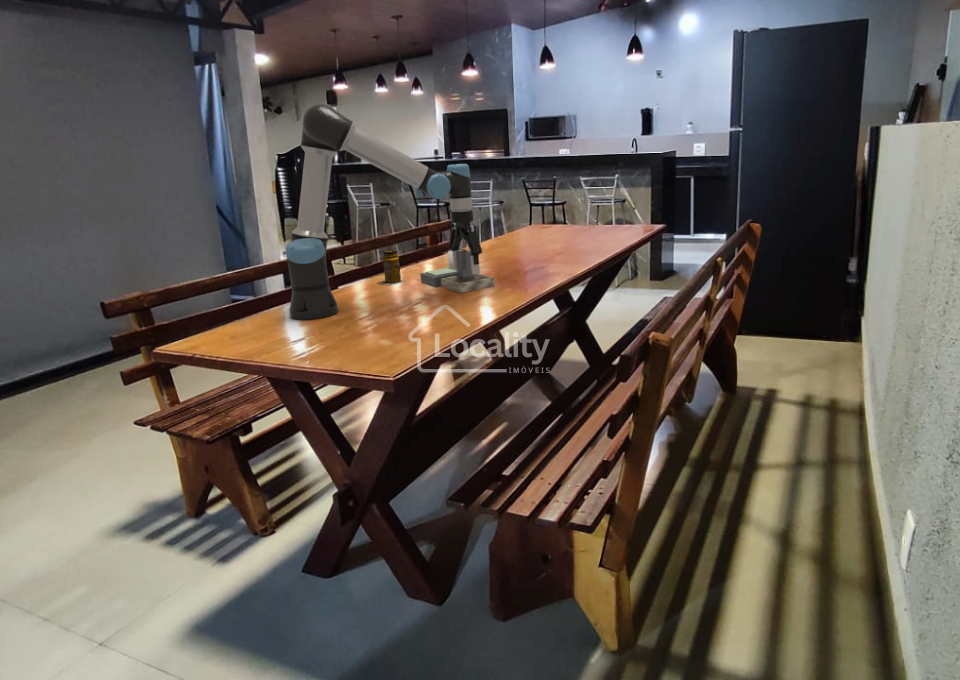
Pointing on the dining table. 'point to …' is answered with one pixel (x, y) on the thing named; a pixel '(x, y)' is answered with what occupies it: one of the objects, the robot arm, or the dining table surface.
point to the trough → (467, 283)
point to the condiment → (391, 268)
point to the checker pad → (441, 272)
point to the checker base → (434, 278)
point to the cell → (464, 266)
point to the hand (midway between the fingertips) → (466, 271)
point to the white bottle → (450, 257)
